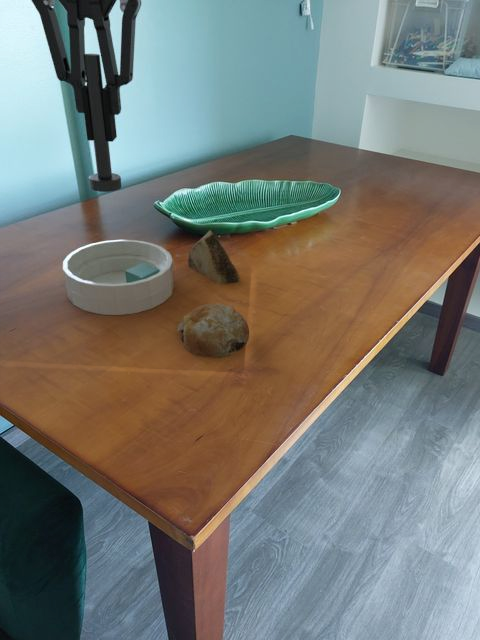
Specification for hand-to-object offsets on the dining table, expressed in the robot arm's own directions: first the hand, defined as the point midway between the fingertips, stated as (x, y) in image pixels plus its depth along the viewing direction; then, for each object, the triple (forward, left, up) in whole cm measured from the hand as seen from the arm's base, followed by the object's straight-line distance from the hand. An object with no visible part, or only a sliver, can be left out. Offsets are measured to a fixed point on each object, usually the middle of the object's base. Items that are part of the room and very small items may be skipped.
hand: (102, 138), depth 75 cm
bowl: (-1, +3, -26) cm, 26 cm away
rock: (+14, +11, -26) cm, 32 cm away
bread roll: (+16, -11, -26) cm, 33 cm away
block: (+3, +3, -25) cm, 26 cm away
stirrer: (0, -1, -7) cm, 7 cm away
